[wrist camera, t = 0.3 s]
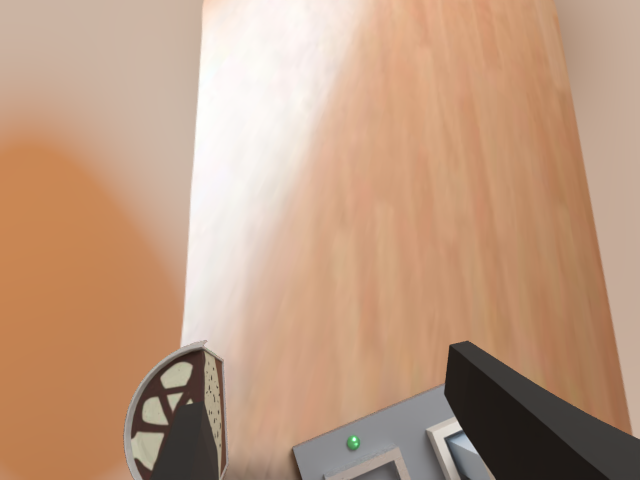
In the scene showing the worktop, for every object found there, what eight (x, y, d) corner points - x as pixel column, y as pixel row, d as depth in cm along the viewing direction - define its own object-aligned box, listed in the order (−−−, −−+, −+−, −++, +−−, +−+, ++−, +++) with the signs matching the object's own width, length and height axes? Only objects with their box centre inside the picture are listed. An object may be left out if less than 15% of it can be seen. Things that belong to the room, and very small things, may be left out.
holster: (518, 466, 37) (529, 471, 35) (453, 497, 36) (461, 504, 34) (489, 401, 39) (498, 403, 37) (425, 429, 38) (431, 432, 36)
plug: (497, 455, 37) (549, 478, 30) (460, 472, 37) (504, 500, 29) (482, 423, 38) (530, 438, 30) (446, 439, 37) (486, 458, 30)
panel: (540, 489, 38) (546, 493, 37) (337, 589, 34) (339, 596, 33) (483, 366, 41) (488, 366, 40) (292, 446, 37) (292, 448, 36)
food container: (160, 352, 39) (117, 348, 29) (222, 344, 40) (201, 338, 30) (160, 493, 35) (112, 540, 26) (229, 482, 36) (207, 524, 26)
